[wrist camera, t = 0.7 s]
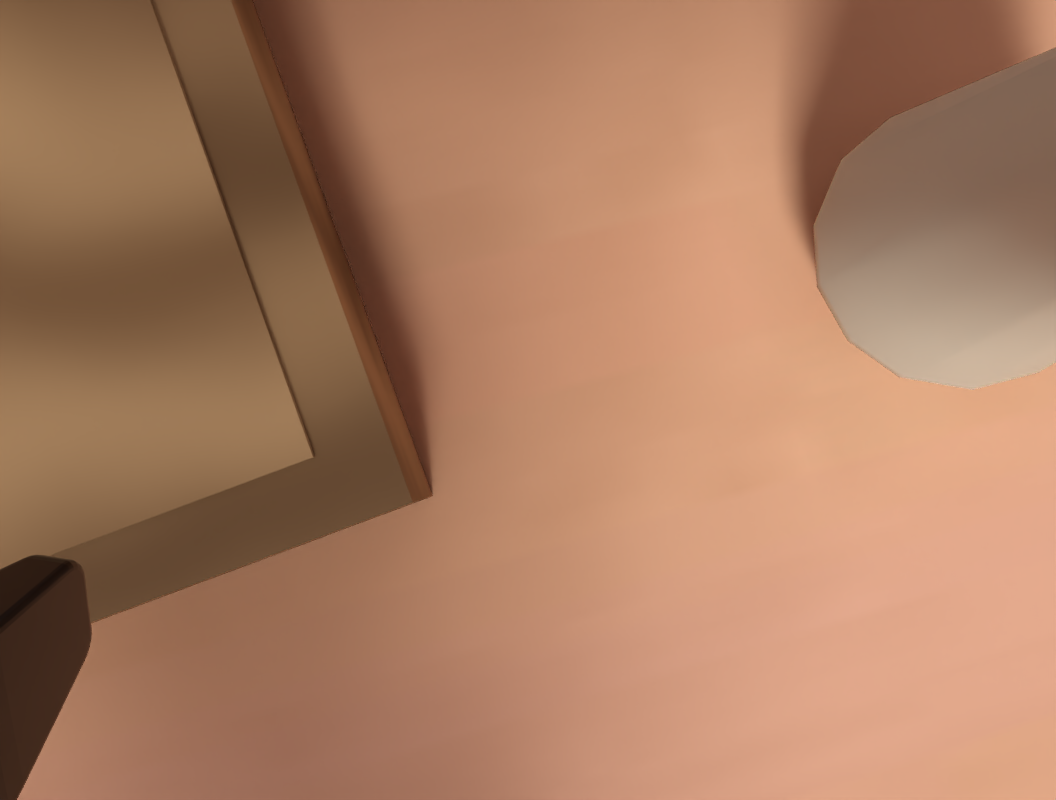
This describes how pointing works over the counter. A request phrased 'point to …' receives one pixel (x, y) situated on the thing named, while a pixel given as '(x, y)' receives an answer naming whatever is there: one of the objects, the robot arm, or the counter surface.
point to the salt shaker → (950, 234)
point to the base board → (174, 307)
